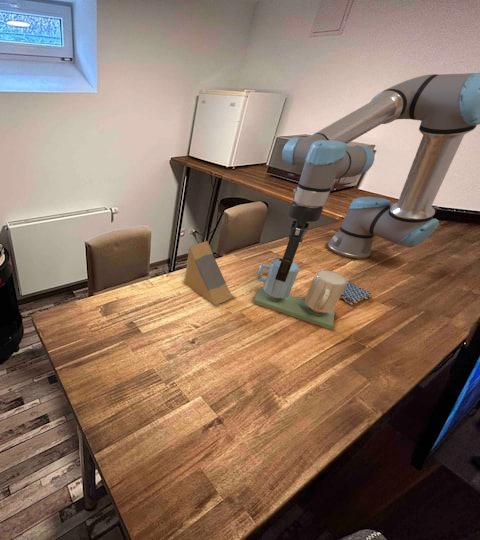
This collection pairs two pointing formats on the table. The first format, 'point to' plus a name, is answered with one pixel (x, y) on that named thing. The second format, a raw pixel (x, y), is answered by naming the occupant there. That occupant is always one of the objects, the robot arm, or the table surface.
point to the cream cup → (325, 290)
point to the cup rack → (295, 309)
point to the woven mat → (354, 293)
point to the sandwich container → (205, 274)
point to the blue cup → (276, 286)
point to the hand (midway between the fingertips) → (284, 269)
